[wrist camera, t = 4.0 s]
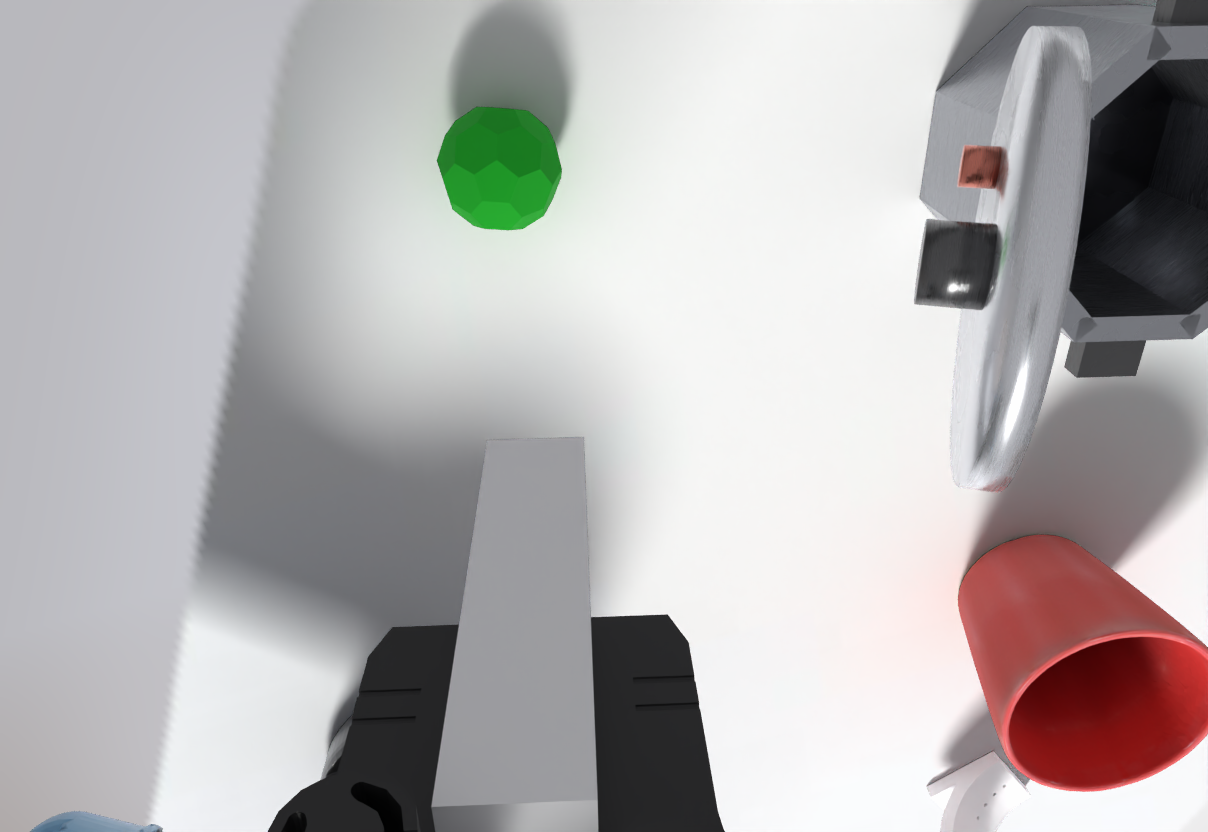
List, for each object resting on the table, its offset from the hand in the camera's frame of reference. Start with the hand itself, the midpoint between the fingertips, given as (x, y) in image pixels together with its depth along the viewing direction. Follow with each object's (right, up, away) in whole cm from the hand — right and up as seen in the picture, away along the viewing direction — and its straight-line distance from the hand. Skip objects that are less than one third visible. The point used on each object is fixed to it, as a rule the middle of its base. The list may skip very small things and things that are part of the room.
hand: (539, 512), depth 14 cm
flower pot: (+25, -8, +37) cm, 46 cm away
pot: (+21, +14, +25) cm, 35 cm away
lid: (+13, +6, +11) cm, 18 cm away
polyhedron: (-3, +13, +24) cm, 28 cm away
